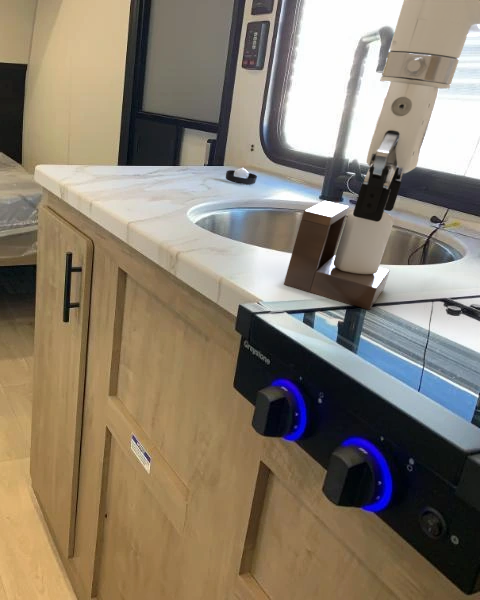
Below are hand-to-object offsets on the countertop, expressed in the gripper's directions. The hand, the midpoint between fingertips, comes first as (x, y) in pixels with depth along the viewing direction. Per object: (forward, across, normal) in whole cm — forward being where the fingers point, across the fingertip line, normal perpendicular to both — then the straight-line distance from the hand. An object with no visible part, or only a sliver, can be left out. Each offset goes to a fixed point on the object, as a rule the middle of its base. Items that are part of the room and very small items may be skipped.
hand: (373, 213), depth 77 cm
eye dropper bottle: (+8, 0, 0) cm, 8 cm away
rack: (+11, 0, +2) cm, 11 cm away
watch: (+11, +66, +40) cm, 78 cm away
